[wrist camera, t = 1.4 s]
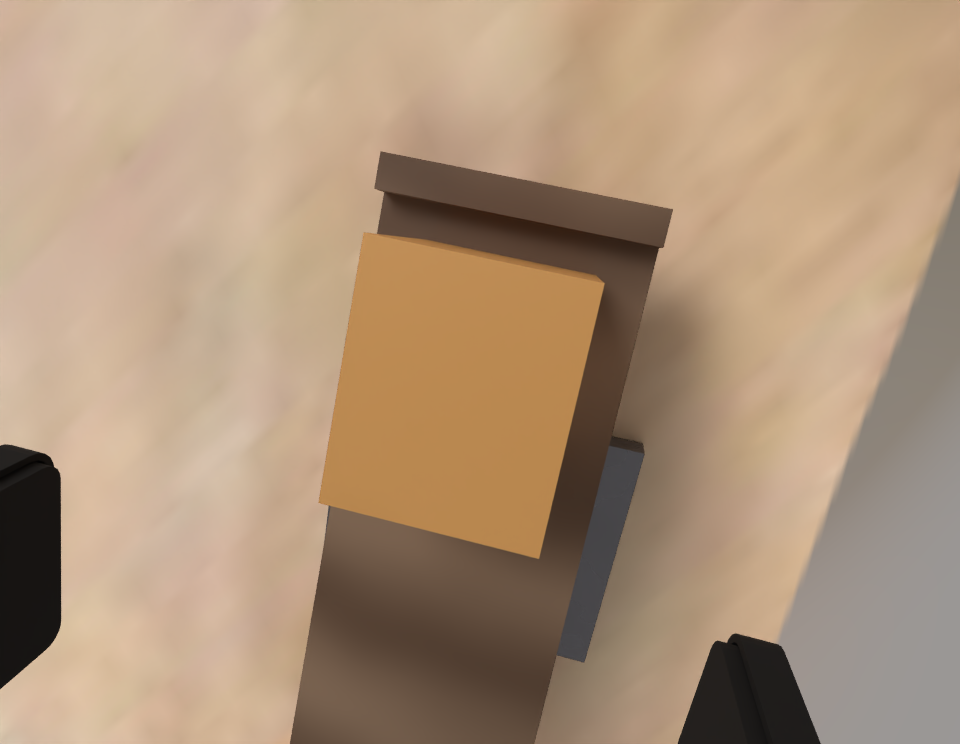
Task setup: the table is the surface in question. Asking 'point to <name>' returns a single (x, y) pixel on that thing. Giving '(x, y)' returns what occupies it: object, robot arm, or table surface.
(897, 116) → the table surface
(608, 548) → the stand
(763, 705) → the robot arm
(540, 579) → the beam
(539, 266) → the block
